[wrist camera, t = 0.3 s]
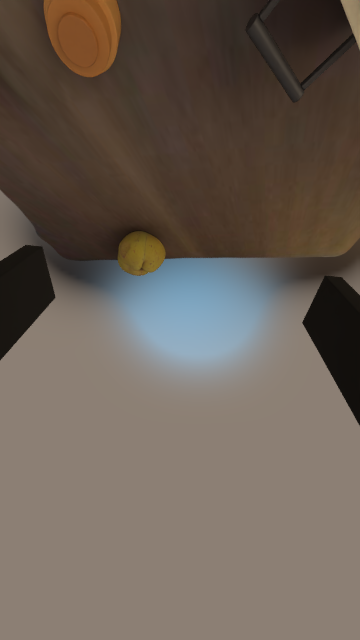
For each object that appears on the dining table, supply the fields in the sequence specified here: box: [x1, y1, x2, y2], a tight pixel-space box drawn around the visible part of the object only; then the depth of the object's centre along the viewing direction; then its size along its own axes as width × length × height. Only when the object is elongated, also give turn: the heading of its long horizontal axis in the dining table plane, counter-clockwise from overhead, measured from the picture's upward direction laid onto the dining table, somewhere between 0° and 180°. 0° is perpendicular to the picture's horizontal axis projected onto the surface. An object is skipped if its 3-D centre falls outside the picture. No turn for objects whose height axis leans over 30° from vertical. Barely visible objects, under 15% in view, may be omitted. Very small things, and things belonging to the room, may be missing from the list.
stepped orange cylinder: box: [44, 0, 121, 77], centre depth 26 cm, size 7×7×6 cm
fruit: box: [118, 231, 165, 276], centre depth 60 cm, size 11×12×10 cm
